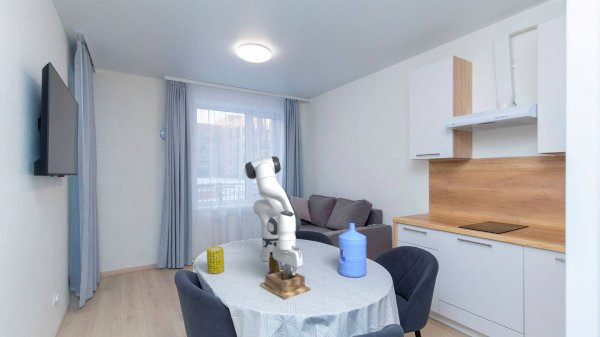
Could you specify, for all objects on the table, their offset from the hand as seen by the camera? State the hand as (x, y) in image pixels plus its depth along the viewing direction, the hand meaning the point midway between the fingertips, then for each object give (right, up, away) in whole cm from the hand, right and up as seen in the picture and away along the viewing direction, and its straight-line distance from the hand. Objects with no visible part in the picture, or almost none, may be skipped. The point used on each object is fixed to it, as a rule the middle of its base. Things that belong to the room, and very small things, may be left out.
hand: (287, 272), depth 145 cm
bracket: (-1, -7, -1) cm, 7 cm away
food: (-42, -8, +23) cm, 49 cm away
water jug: (+36, -8, +20) cm, 42 cm away
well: (-1, -8, -1) cm, 8 cm away
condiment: (-8, -8, +19) cm, 22 cm away
